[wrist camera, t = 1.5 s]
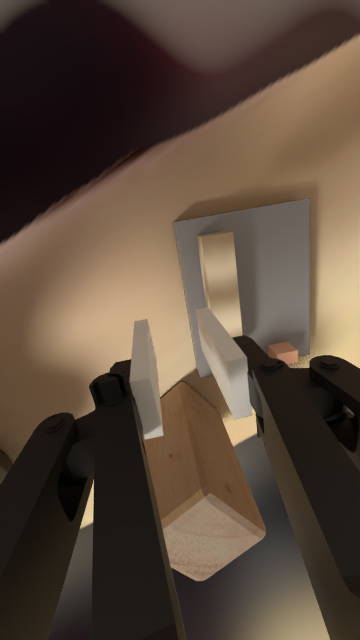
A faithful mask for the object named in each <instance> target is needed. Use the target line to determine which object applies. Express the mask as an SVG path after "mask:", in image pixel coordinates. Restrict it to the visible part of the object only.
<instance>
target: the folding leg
mask: <svg viewBox="0 0 360 640" xmlns="http://www.w3.org/2000/svg"><path fill="white" fill-rule="evenodd" d="M197 243H198V250H199V258H200V265H201V272H202V279H203V287H204V294H205V301H206V307H208V308H209V309H210V310H211V311H212V313H213V314H214V315H215V317H216V318H217V319H218V321H219V322H220V323H221V324H222V326H223V327H224V328H225V330H226V331H227V332H228V333H229V335H230V336H231V337H237V336H242V335H243V334H242V323H241V312H240V301H239V291H238V280H237V269H236V258H235V247H234V236H233V232H229V231H222V232H216V233H211V234H205V235H200V236H197Z"/></svg>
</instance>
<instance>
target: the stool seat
mask: <svg viewBox="0 0 360 640" xmlns="http://www.w3.org/2000/svg"><path fill="white" fill-rule="evenodd" d="M173 226H174V232H175V238H176V244H177V250H178V257H179V263H180V269H181V275H182V281H183V287H184V293H185V299H186V305H187V311H188V317H189V323H190V330H191V336H192V342H193V348H194V354H195V360H196V366H197V370H198V372H199V375H200V378H202V377H207V376H212V375H213V373H212V371H211V368H210V366H209V364H208V362H207V360H206V358H205V356H204V353H203V351H202V348H201V341H200V335H199V328H198V322H197V315H196V309H200V308H205V307H206V301H205V294H204V287H203V279H202V272H201V265H200V258H199V250H198V243H197V236H200V235H205V234H211V233H216V232H222V231H229V232H233V236H234V247H235V258H236V269H237V280H238V291H239V301H240V312H241V323H242V334H243V335H245V336H247V337H250V338H252V339H253V340H254V341H255V342H256V344H258V345H259V346H260V348H261V349H262V350H263V351H264V352H265V353H266V354H267V355H268V356H269V357H270V358H276V359H280V360H282V361H284V362H285V363H286V364H287V365H290V364H295V363H298V357H300V356H304V355H309V354H310V198H308V199H301V200H295V201H289V202H284V203H278V204H272V205H267V206H261V207H255V208H250V209H244V210H239V211H233V212H227V213H222V214H216V215H210V216H205V217H199V218H193V219H188V220H182V221H177V222H173Z"/></svg>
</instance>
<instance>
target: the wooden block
mask: <svg viewBox="0 0 360 640" xmlns="http://www.w3.org/2000/svg"><path fill="white" fill-rule="evenodd" d="M160 404H161V414H162V424H163V435H164V436H159V437H155V438H150V439H146V440H145V438H144V434H143V442H144V445H145V449H146V454H147V459H148V463H149V468H150V473H151V477H152V482H153V487H154V491H155V496H156V501H157V505H158V510H159V515H160V519H161V524H162V529H163V533H164V538H165V543H166V547H167V552H168V557H169V561H170V566H171V567H172V568H174V569H175V570H178V571H179V572H181V573H183V574H185V575H186V576H188V577H190V578H192V579H194V580H196V581H203V580H206V579H207V578H209V577H210V576H211V575H213V574H214V573H216V572H217V571H218V570H220V569H221V568H223V567H224V566H225V565H227V564H228V563H229V562H231V561H232V560H234V559H235V558H236V557H238V556H239V555H241V554H242V553H243V552H245V551H246V550H248V549H249V548H250V547H252V546H253V545H254V544H256V543H257V542H259V541H260V540H261V539H263V537H264V536H265V534H266V530H265V526H264V523H263V521H262V518H261V516H260V513H259V511H258V508H257V506H256V503H255V501H254V498H253V496H252V493H251V491H250V488H249V486H248V483H247V481H246V478H245V476H244V473H243V471H242V468H241V466H240V463H239V461H238V458H237V456H236V453H235V451H234V449H233V446H232V443H231V441H230V438H229V436H228V433H227V431H226V428H225V426H224V423H223V421H222V418H221V416H220V413H219V412H218V411H217V410H216V409H215V408H214V407H212V406H211V405H210V404H209V403H208V402H207V401H206V400H205V399H203V398H202V397H201V396H200V395H199V394H198V393H197V392H196V391H194V390H193V389H192V388H191V387H190V386H189V385H188V384H186V383H184V382H180V383H178V384H177V385H176V386H175V387H174V388H173V389H172V390H170V391H169V392H168V393H167V394H166V395H165V396H164V397H162V398H161V399H160Z"/></svg>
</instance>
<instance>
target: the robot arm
mask: <svg viewBox="0 0 360 640" xmlns="http://www.w3.org/2000/svg"><path fill="white" fill-rule="evenodd" d="M196 315H197V322H198V328H199V335H200V341H201V348H202V351H203V353H204V356H205V358H206V360H207V362H208V364H209V366H210V368H211V371H212V373H213V375H214V377H215V379H216V381H217V384H218V386H219V388H220V390H221V392H222V394H223V396H224V399H225V401H226V403H227V405H228V407H229V409H230V412H231V414H232V416H233V418H234V419H238V418H243V417H247V416H252V409H251V405H252V407H253V408H254V410H255V412H256V422H257V434H258V437H262V440H263V443H264V446H265V449H266V452H267V455H268V458H269V460H270V463H271V466H272V469H273V472H274V475H275V478H276V481H277V484H278V487H279V490H280V493H281V496H282V499H283V502H284V505H285V508H286V511H287V513H288V516H289V519H290V522H291V525H292V528H293V531H294V534H295V537H296V540H297V543H298V546H299V548H300V551H301V554H302V558H303V560H304V563H305V566H306V569H307V572H308V575H309V578H310V581H311V584H312V587H313V590H314V593H315V596H316V599H317V602H318V604H319V607H320V610H321V613H322V616H323V619H324V622H325V625H326V628H327V631H328V634H329V637H330V640H360V368H358V367H356V366H355V365H353V364H351V363H349V362H348V361H346V360H344V359H342V358H339V357H335V356H331V355H328V356H327V355H323V356H317V357H315V358H312V359H311V360H310V362H309V368H289V367H288V365H287V364H286V363H285V362H284V361H282V360H280V359H276V358H270V357H269V356H268V355H267V354H266V353H265V352H264V351H263V350H262V349H261V348H260V346H259V345H258V344H256V342H255V341H254V340H253V339H252V338H250V337H247V336H245V335H242V336H237V337H231V336H230V335H229V333H228V332H227V331H226V330H225V328H224V327H223V326H222V324H221V323H220V322H219V321H218V319H217V318H216V317H215V315H214V314H213V313H212V311H211V310H210V309H209V308H208V307H205V308H200V309H196ZM89 388H90V391H91V394H92V397H93V400H94V403H95V410H94V411H93V412H91V413H89V414H87V415H85V416H83V417H81V418H78V419H76V420H75V419H74V417H73V415H72V414H70V413H59V414H55V415H52V416H50V417H48V418H47V419H45V420H44V421H43V422H41V423H40V424H39V425H38V427H37V428H36V429H35V431H34V432H33V434H32V435H31V437H30V439H29V440H28V442H27V443H26V445H25V447H24V448H23V450H22V451H21V453H20V454H19V456H18V458H17V459H16V461H15V462H14V464H13V465H12V463H11V461H10V460H9V458H8V457H7V456H6V455H5V454H4V453H3V452H2V451H1V450H0V640H48V637H49V633H50V629H51V626H52V622H53V619H54V615H55V612H56V609H57V605H58V602H59V599H60V595H61V592H62V588H63V585H64V581H65V578H66V574H67V571H68V567H69V564H70V560H71V557H72V553H73V550H74V546H75V543H76V539H77V536H78V532H79V529H80V526H81V522H82V519H83V515H84V512H85V508H86V505H87V501H88V498H89V494H90V491H91V487H92V484H93V480H94V514H93V569H92V571H93V572H92V625H91V626H92V627H91V640H186V637H185V631H184V627H183V622H182V617H181V613H180V608H179V603H178V599H177V594H176V590H175V585H174V580H173V576H172V571H171V566H170V561H169V557H168V552H167V547H166V543H165V538H164V533H163V529H162V524H161V519H160V515H159V510H158V505H157V501H156V496H155V491H154V487H153V482H152V477H151V473H150V468H149V463H148V459H147V454H146V449H145V445H144V442H143V434H144V438H145V440H146V439H150V438H155V437H159V436H164V435H163V424H162V414H161V404H160V394H159V384H158V373H157V363H156V356H155V352H154V347H153V343H152V338H151V334H150V329H149V325H148V320H147V319H145V320H140V321H135V322H134V334H133V346H132V358H131V359H130V360H125V361H121V362H116V363H115V364H114V365H113V366H112V367H111V368H110V372H109V373H106V374H103V375H100V376H99V377H97V378H96V379H94V380H93V381H92V382H91V384H90V386H89ZM348 408H349V409H350V410H351V411H352V412H353V413H354V414H355V415H352V414H351V413H349V412H348V411H347V409H348Z"/></svg>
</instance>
